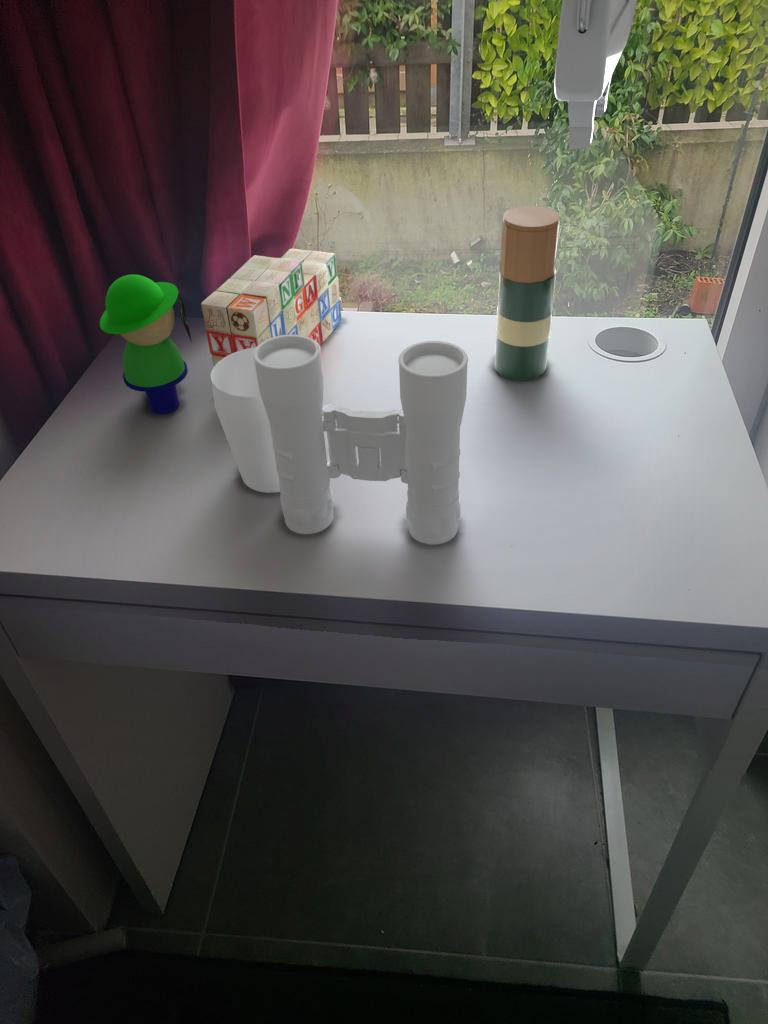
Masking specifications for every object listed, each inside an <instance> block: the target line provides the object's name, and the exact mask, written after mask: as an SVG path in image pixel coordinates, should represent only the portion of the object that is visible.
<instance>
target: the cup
mask: <svg viewBox="0 0 768 1024" xmlns="http://www.w3.org/2000/svg"><path fill="white" fill-rule="evenodd" d="M255 348H256V347H254V348H248V349H244V350H240V351H237V352H235V353H232V354H230V355H228V356H226V357H224V358H223V359H222V360H220V361H219V362H218V363H217V364H216V365H215V366H214V365H213V368H212V370H211V372H210V379H211V380H210V381H211V389H212V396H213V406H214V409H215V412H216V415H217V417H218V421H219V423H220V425H221V428H222V430H223V433H224V436H225V439H226V441H227V444H228V446H229V448H230V451H231V454H232V456H233V458H234V462H235V464H236V466H237V469H238V471H239V474H240V477H241V479H242V482H243V484H245V486H246V487H248V488H249V489H251V490H253V491H255V492H259V493H266V494H275V493H280V487H279V477H278V472H277V470H276V458H275V452H274V449H273V445H272V443H273V440H272V434H271V427H270V421H269V419H268V416H267V413H266V410H265V407H264V404H263V401H262V398H261V395H260V392H259V386H258V380H257V374H256V368H255V362H254V359H253V352H254V350H255Z"/></svg>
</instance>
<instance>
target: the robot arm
mask: <svg viewBox="0 0 768 1024" xmlns="http://www.w3.org/2000/svg"><path fill="white" fill-rule="evenodd" d="M637 2H638V0H562V3H561V9H560V17H559V25H558V37H557V45H556V46H557V47H556V58H555V68H554V81H553V82H554V83H553V85H554V86H553V87H554V88H553V89H554V95H555V98H556V100H558V101H560V102H561V101H562V102H567V114H568V125H569V131H568V146H569V148H571V149H572V150H586V149H588V148H589V147H591V144H592V141H593V137H594V135H593V134H594V127H595V122H594V121H595V120H594V119H595V117H596V118H601V117H602V116H603V115H604V114H605V112H606V110H607V105H608V95H609V90H610V85H611V81H612V76H613V73H614V71H615V68H616V66H617V64H618V62H619V60H620V58H621V55H622V54H623V52H624V50H625V48H626V46H627V43H628V40H629V37H630V34H631V29H632V25H633V21H634V16H635V12H636V6H637Z"/></svg>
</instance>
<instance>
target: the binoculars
mask: <svg viewBox="0 0 768 1024" xmlns="http://www.w3.org/2000/svg"><path fill="white" fill-rule="evenodd" d="M321 353H322V349H321V345H319V344H318V343H317V342H316V341H315V340H313V339H311V338H309V337H306V336H302V335H281V336H276V337H273V338H270V339H267V340H265V341H264V342H262V343H260V344H259V345H258V346H257V347H256V348H255V350H254V352H253V359H254V362H255V368H256V374H257V380H258V386H259V392H260V395H261V398H262V401H263V404H264V407H265V410H266V413H267V416H268V419H269V421H270V427H271V434H272V440H273V443H272V445H273V449H274V452H275V458H276V470H277V472H278V477H279V487H280V492H279V493H280V496H279V500H280V508H281V511H282V514H283V517H284V523H285V525H286V527H287V528H288V529H289V530H291V531H292V532H294V533H296V534H299V535H313V534H317V533H320V532H323V531H324V530H326V529H327V528H328V527H330V525H331V524H332V523H333V520H334V505H335V503H334V494H333V492H332V488H331V481H330V479H338V478H340V477H341V475H344V476H347V477H350V478H351V479H353V480H358V481H366V482H367V481H369V482H388V481H390V480H394V479H398V478H400V481H401V483H404V484H407V493H406V495H407V497H406V498H407V501H406V503H405V512H406V513H405V517H406V519H407V528H408V529H407V530H408V532H409V533H408V534H410V536H411V537H412V539H414V540H415V541H417V542H420V543H422V544H425V545H441V544H444V543H447V542H450V541H451V540H452V539H454V537H455V536H456V535H457V533H458V530H459V522H460V518H461V503H460V489H459V487H460V486H459V483H460V475H461V473H460V456H461V447H460V446H461V425H462V421H463V416H464V410H465V406H466V400H467V391H468V390H467V387H468V385H467V384H468V363H469V355H468V353H467V352H466V351H465V350H464V349H462V348H461V346H459V345H456V344H454V343H451V342H447V341H442V340H426V341H420V342H417V343H414V344H411V345H409V346H408V347H405V348H404V349H403V350H402V351H401V352H400V354H399V356H398V360H397V362H398V366H399V367H398V370H399V371H398V373H399V375H398V376H399V399H400V403H401V409H399V410H398V409H393V410H387V411H367V410H356V409H349V408H345V407H342V406H336V405H334V404H331V403H330V404H325V405H324V390H325V384H324V383H325V382H324V375H323V373H324V372H323V363H322V354H321ZM325 434H326V440H325ZM326 445H327V449H326ZM327 453H328V458H327Z"/></svg>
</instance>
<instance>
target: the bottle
mask: <svg viewBox="0 0 768 1024" xmlns="http://www.w3.org/2000/svg"><path fill="white" fill-rule="evenodd" d="M556 277H557V270H556V269H555V271H554V274H553V276H552V277H551V278H549V279H547V280H545V281H542V282H535V283H522V282H514V281H512V280H509V279H507V278H504V277H503V275H502V274H501V273H500V272H499V278H498V279H499V280H498V296H497V298H498V299H497V308H496V321H495V322H496V323H495V324H496V325H495V349H494V366H493V367H494V370H495V372H496V373H497V374H498V375H499V376H500V377H503V378H505V379H509V380H513V381H530V380H534V379H537V378H539V377H541V376H542V375H544V374H545V373H546V370H547V363H548V356H549V355H548V354H549V345H550V336H551V330H552V329H551V328H552V322H553V321H552V320H553V307H554V306H553V305H554V298H555V297H554V296H555V287H556V279H557V278H556Z"/></svg>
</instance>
